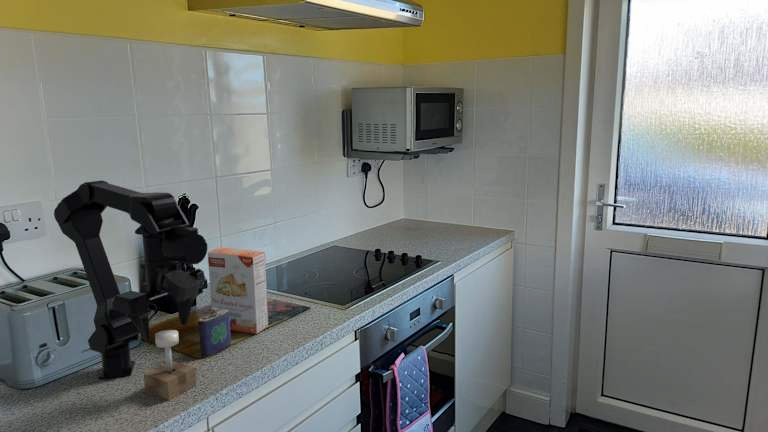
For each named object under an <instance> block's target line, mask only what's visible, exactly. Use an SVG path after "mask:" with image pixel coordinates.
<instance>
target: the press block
mask: <svg viewBox="0 0 768 432" xmlns="http://www.w3.org/2000/svg"><path fill="white" fill-rule="evenodd" d="M172 366H173V372H171V373H167V371H166V363H164V364H162V365H159V366H157V367H155V368H154V369H151V370H149V371H146V372H145V373H143V382H144V384H143V385H144V392H145V393H146V394H149V395H152V396H155V397H158V398H161V399H164V400H167V401H171V400H173V399H175V398H177V397H178V396H180V395H182V394H184V393H186V392H188V391H189V390H191V389H193V388H195V387H197V376H196V372H197V371H196V367H194V366H191V365H188V364H184V363H180V362H178V361H174V360H172Z"/></svg>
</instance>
